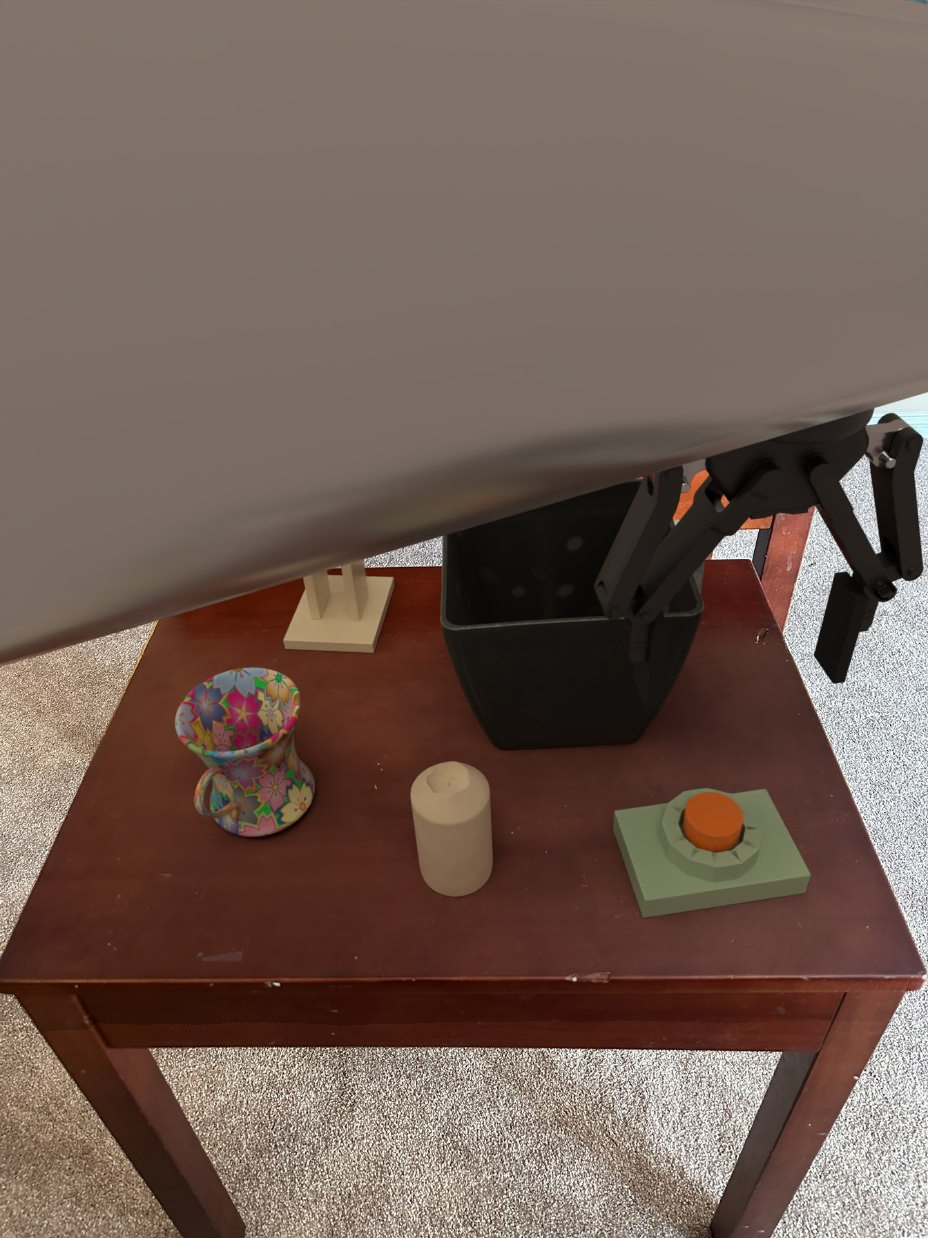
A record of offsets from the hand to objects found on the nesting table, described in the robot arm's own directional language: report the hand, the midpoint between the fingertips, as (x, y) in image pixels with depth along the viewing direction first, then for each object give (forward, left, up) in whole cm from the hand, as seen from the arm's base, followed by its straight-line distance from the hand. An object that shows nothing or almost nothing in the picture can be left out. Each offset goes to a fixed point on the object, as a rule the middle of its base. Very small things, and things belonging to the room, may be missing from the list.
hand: (738, 681), depth 56 cm
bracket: (-26, +35, -18) cm, 47 cm away
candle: (-18, +3, -18) cm, 26 cm away
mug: (-33, +10, -18) cm, 40 cm away
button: (0, 0, -14) cm, 14 cm away
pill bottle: (+8, +31, -18) cm, 37 cm away
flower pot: (-7, +19, -18) cm, 27 cm away
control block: (0, 0, -18) cm, 18 cm away
